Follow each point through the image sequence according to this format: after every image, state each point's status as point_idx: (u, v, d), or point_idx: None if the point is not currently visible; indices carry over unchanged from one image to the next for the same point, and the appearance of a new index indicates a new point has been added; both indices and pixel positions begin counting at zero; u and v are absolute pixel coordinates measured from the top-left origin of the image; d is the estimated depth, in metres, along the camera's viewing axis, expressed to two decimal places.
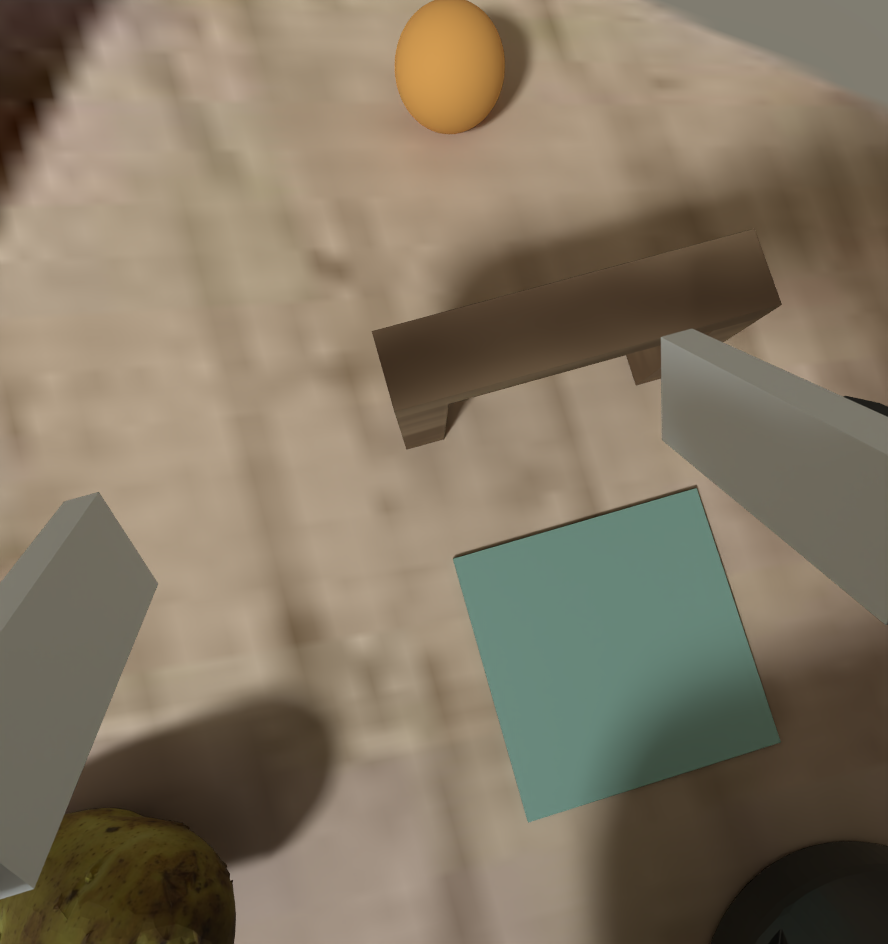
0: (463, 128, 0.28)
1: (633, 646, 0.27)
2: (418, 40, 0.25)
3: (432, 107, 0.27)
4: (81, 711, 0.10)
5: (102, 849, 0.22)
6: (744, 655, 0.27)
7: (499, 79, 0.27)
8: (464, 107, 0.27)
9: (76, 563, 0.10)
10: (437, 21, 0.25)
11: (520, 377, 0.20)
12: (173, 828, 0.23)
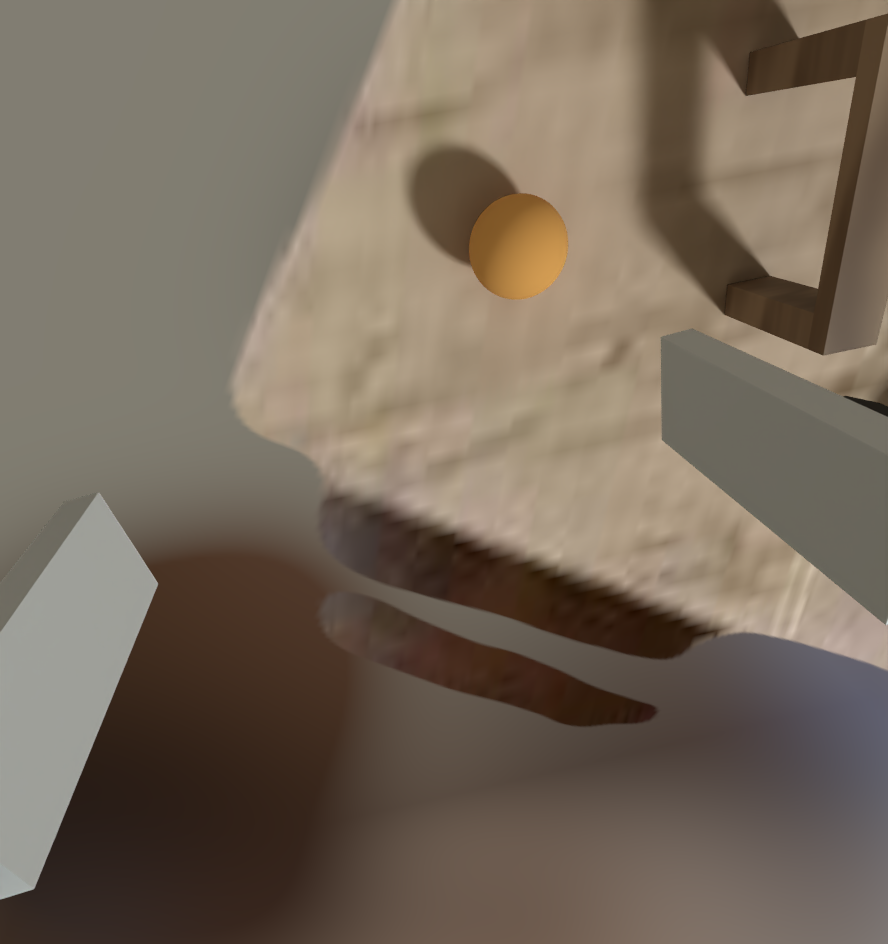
0: None
1: None
2: (533, 284, 0.30)
3: None
4: (81, 711, 0.10)
5: None
6: None
7: (549, 204, 0.29)
8: None
9: (76, 563, 0.10)
10: (529, 268, 0.29)
11: None
12: None
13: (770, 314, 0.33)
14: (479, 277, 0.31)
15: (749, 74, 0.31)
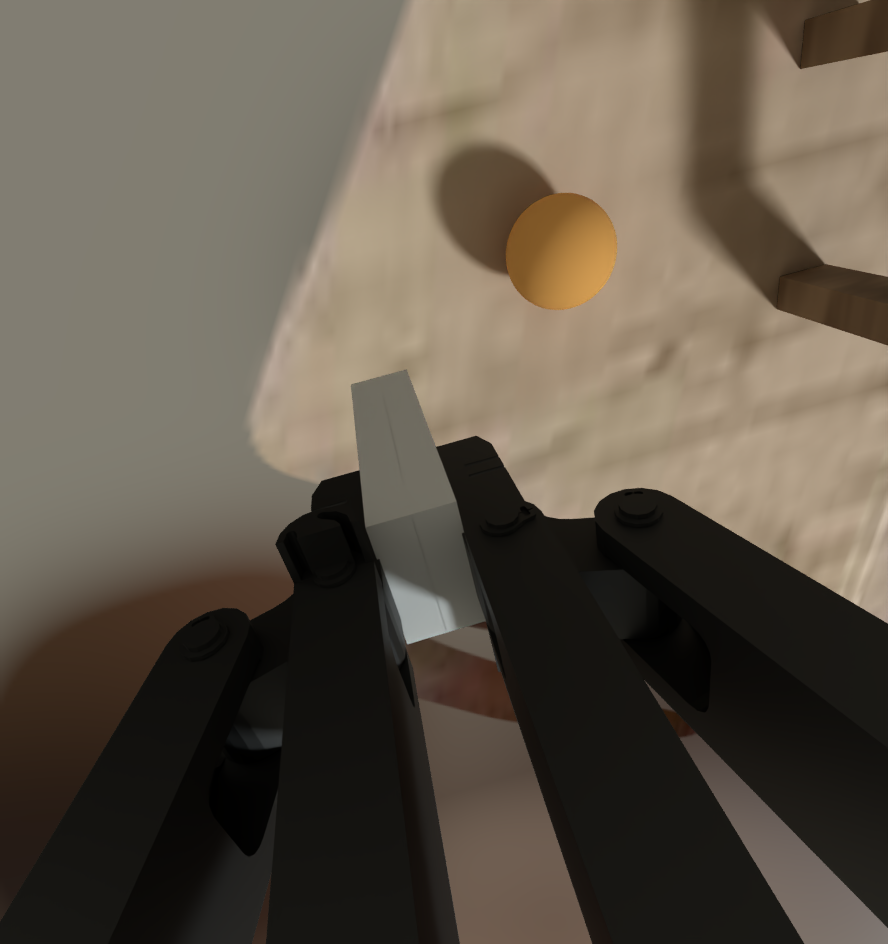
0: None
1: None
2: (582, 293, 0.27)
3: None
4: None
5: None
6: None
7: (595, 203, 0.26)
8: None
9: None
10: (578, 275, 0.26)
11: None
12: None
13: (836, 307, 0.30)
14: (520, 288, 0.28)
15: (804, 45, 0.28)
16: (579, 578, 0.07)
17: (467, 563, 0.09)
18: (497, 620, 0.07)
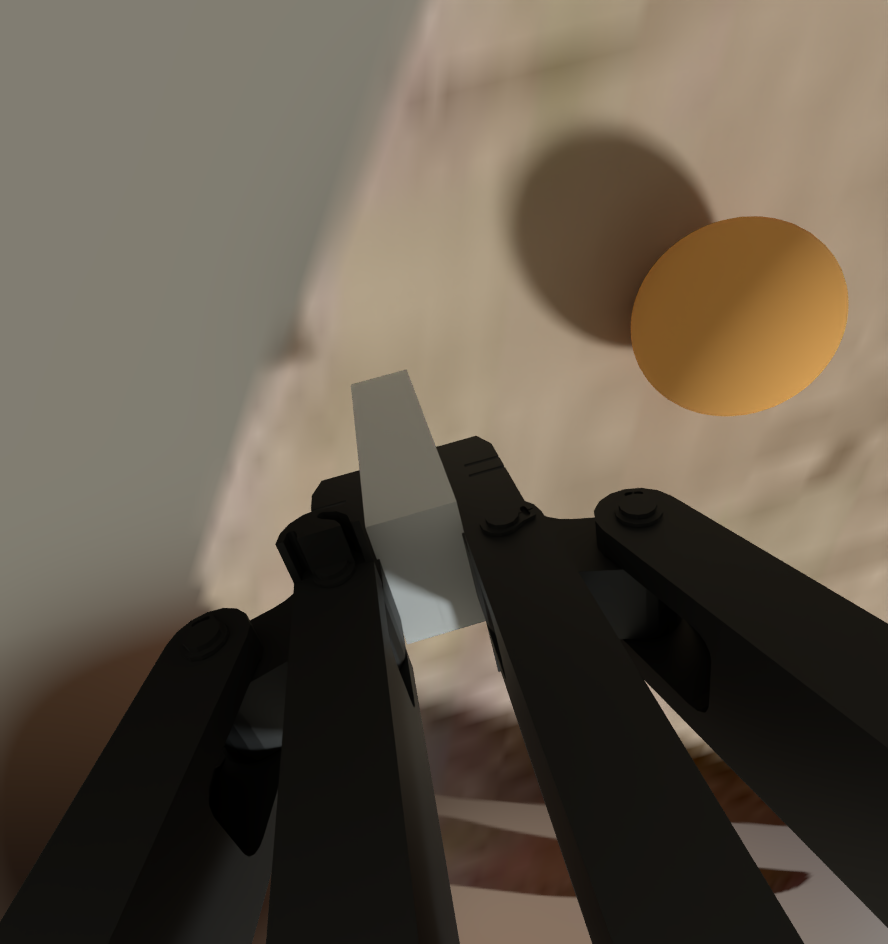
0: None
1: None
2: (782, 397, 0.15)
3: None
4: None
5: None
6: None
7: (814, 236, 0.14)
8: None
9: None
10: (788, 372, 0.14)
11: None
12: None
13: None
14: (660, 382, 0.16)
15: None
16: (579, 578, 0.07)
17: (467, 563, 0.09)
18: (497, 620, 0.07)
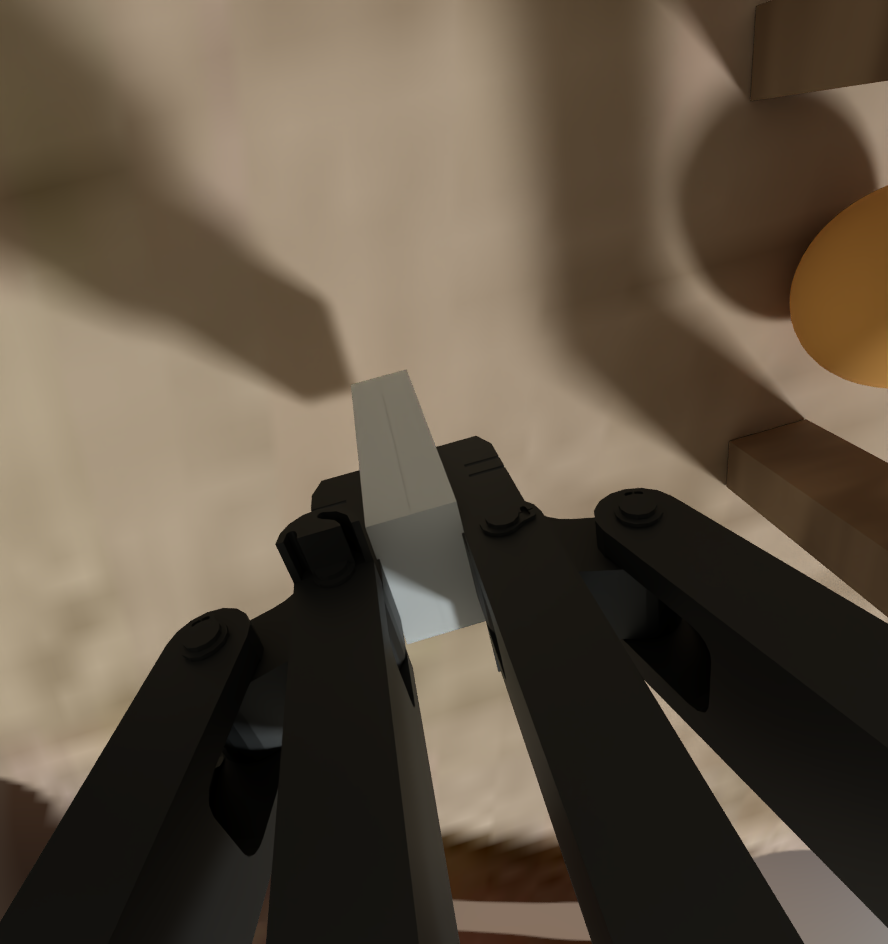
0: None
1: None
2: None
3: None
4: None
5: None
6: None
7: None
8: None
9: None
10: None
11: None
12: None
13: (823, 533, 0.17)
14: (805, 341, 0.16)
15: (756, 55, 0.14)
16: (580, 578, 0.07)
17: (467, 563, 0.09)
18: (497, 620, 0.07)
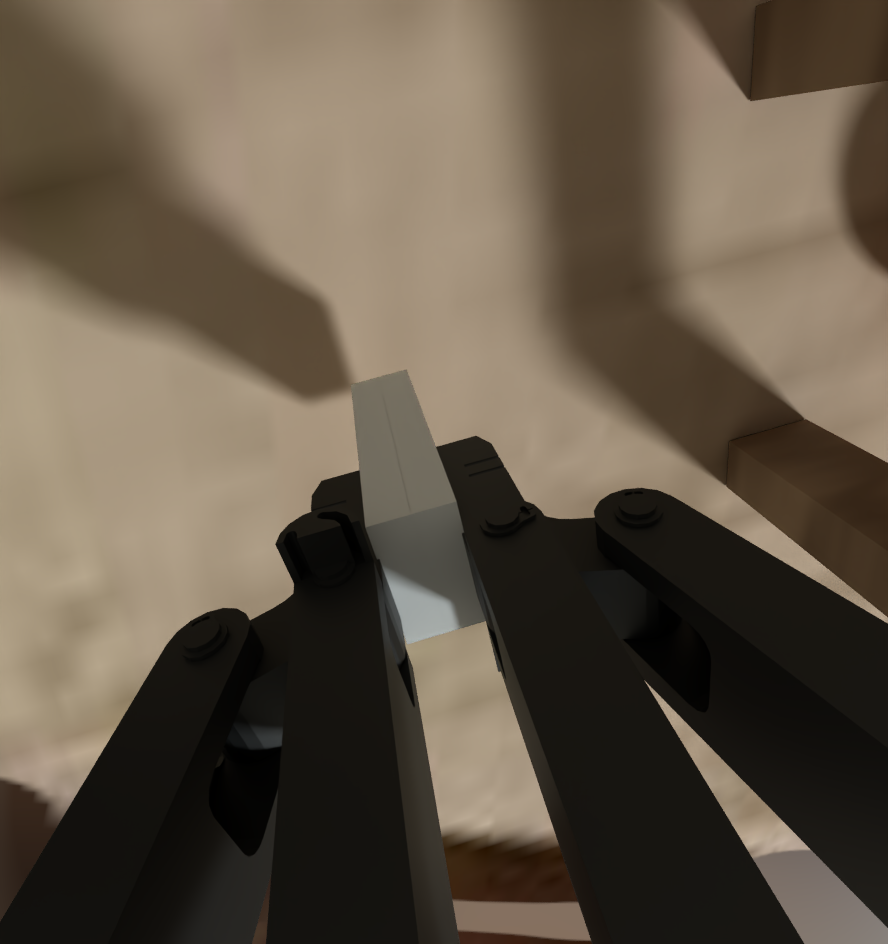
0: None
1: None
2: None
3: None
4: None
5: None
6: None
7: None
8: None
9: None
10: None
11: None
12: None
13: (823, 533, 0.17)
14: None
15: (756, 55, 0.14)
16: (580, 578, 0.07)
17: (467, 563, 0.09)
18: (497, 620, 0.07)
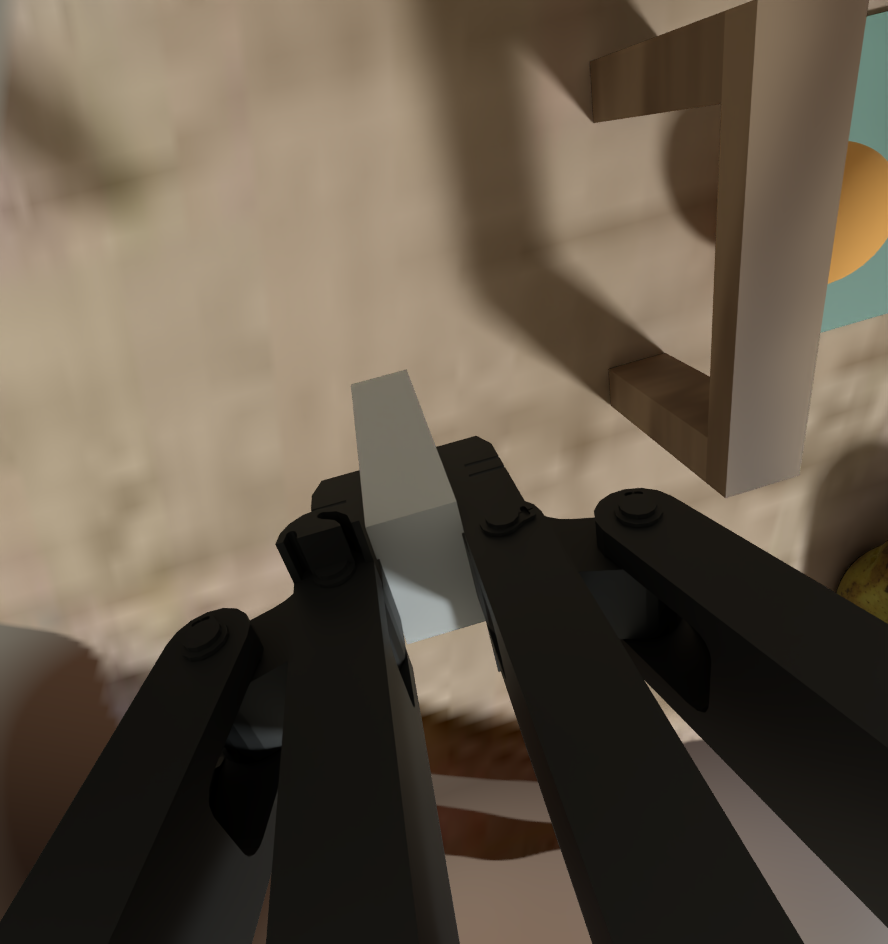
0: None
1: None
2: None
3: None
4: None
5: None
6: None
7: None
8: None
9: None
10: None
11: (813, 357, 0.18)
12: None
13: (658, 422, 0.24)
14: (861, 251, 0.21)
15: (593, 93, 0.21)
16: (579, 578, 0.07)
17: (467, 563, 0.09)
18: (497, 620, 0.07)
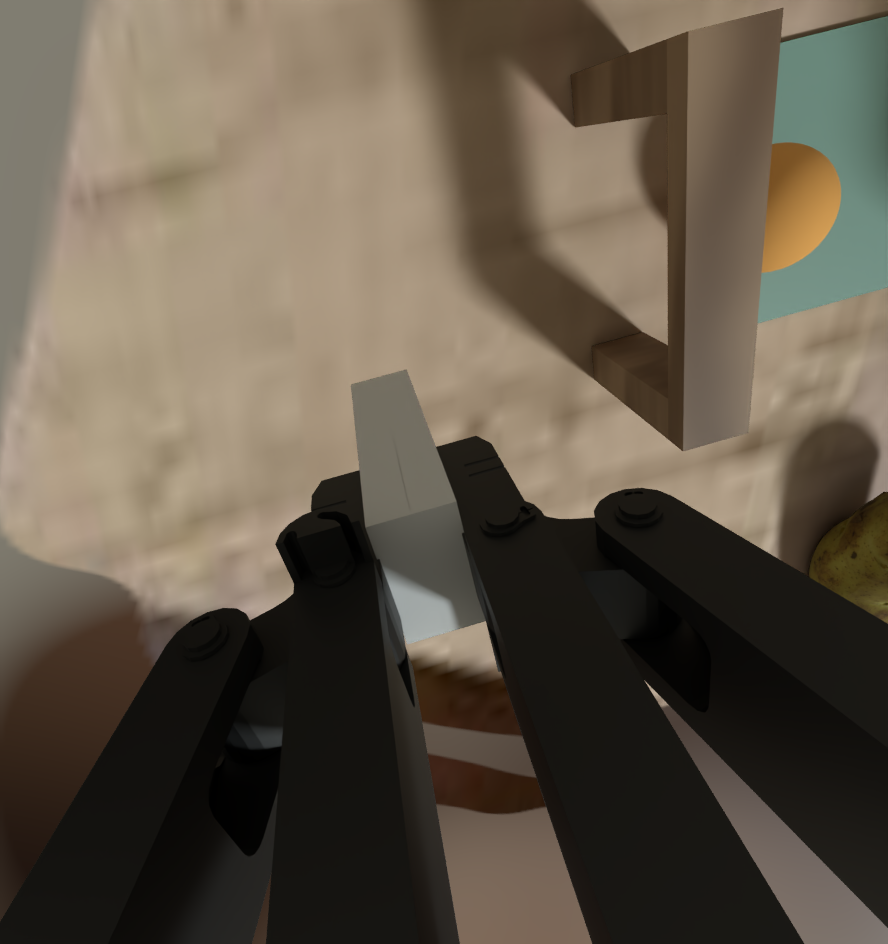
0: None
1: (876, 151, 0.28)
2: None
3: None
4: None
5: (869, 561, 0.36)
6: None
7: None
8: None
9: None
10: None
11: (754, 327, 0.22)
12: (867, 523, 0.36)
13: (631, 390, 0.27)
14: (806, 239, 0.24)
15: (573, 102, 0.25)
16: (579, 578, 0.07)
17: (467, 563, 0.09)
18: (497, 620, 0.07)
